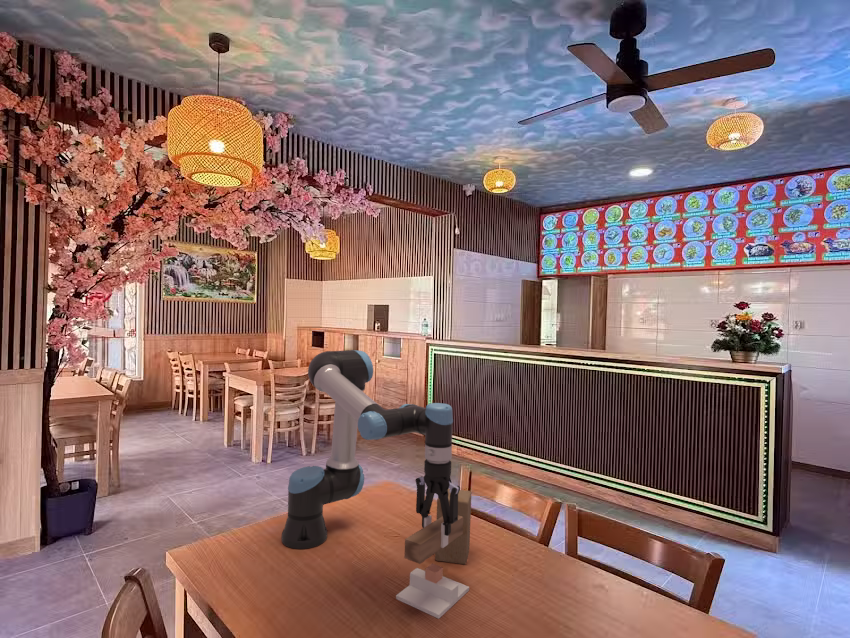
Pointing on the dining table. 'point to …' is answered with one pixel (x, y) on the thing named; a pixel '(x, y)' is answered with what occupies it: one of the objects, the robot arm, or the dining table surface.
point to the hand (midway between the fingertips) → (435, 542)
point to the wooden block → (460, 545)
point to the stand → (432, 591)
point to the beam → (430, 540)
